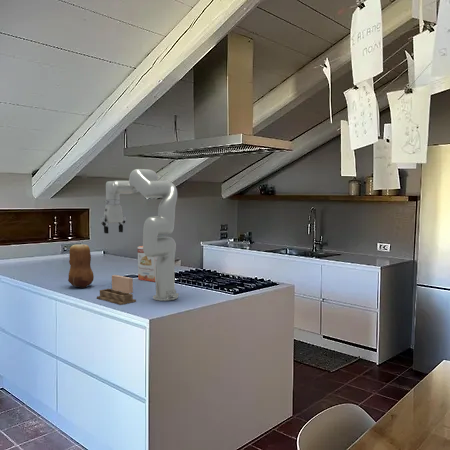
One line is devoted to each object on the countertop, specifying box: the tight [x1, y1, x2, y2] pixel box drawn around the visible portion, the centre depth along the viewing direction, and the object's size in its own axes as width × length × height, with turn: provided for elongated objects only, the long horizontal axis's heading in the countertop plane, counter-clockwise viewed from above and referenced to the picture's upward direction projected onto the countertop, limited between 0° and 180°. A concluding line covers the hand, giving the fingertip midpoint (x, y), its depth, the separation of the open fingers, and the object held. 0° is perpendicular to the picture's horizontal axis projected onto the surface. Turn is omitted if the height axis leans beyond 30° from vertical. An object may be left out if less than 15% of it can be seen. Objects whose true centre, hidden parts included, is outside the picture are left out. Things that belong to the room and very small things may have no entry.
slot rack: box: [96, 288, 137, 306], centre depth 233 cm, size 21×9×4 cm, turn 48°
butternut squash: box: [67, 243, 95, 289], centre depth 264 cm, size 14×13×25 cm
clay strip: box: [111, 274, 134, 294], centre depth 255 cm, size 16×2×8 cm, turn 47°
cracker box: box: [137, 245, 158, 283], centre depth 284 cm, size 14×6×21 cm, turn 56°
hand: (113, 232), depth 265 cm, fingers open, 9 cm apart
